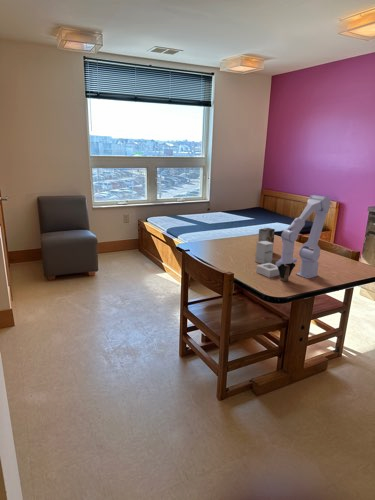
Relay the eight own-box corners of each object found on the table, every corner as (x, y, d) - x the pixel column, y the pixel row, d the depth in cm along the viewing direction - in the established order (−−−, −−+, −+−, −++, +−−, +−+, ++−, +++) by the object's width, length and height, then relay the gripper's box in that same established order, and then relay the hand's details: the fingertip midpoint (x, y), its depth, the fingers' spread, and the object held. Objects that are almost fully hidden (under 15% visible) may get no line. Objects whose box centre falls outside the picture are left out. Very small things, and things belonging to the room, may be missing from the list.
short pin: (274, 265, 207) (274, 259, 206) (279, 267, 204) (280, 261, 203) (269, 266, 205) (270, 260, 204) (274, 268, 202) (275, 262, 201)
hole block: (268, 269, 201) (269, 262, 199) (281, 274, 193) (282, 267, 191) (256, 272, 195) (256, 265, 194) (269, 277, 187) (269, 270, 186)
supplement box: (263, 264, 208) (265, 244, 205) (254, 261, 214) (256, 241, 210) (271, 263, 212) (274, 243, 209) (263, 259, 218) (265, 240, 214)
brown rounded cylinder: (283, 278, 186) (285, 264, 184) (289, 280, 183) (291, 266, 181) (278, 279, 184) (280, 265, 182) (284, 282, 181) (286, 267, 179)
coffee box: (265, 250, 239) (267, 227, 235) (272, 252, 235) (275, 229, 230) (256, 252, 234) (258, 229, 229) (264, 254, 229) (266, 230, 224)
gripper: (290, 248, 187) (288, 272, 190) (272, 252, 179) (269, 276, 183) (301, 251, 181) (298, 276, 185) (282, 255, 173) (279, 281, 177)
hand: (284, 276), depth 183 cm, fingers closed on brown rounded cylinder, 4 cm apart
